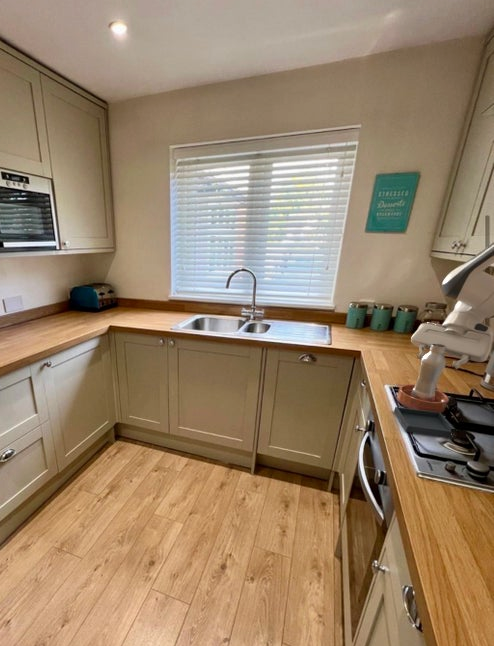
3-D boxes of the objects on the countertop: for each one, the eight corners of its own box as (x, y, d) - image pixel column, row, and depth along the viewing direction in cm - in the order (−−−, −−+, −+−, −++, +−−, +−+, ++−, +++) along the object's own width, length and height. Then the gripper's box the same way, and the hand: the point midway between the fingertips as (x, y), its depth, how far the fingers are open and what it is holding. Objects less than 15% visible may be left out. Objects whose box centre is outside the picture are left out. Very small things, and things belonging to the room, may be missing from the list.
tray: (438, 417, 100) (440, 412, 99) (455, 438, 90) (458, 432, 89) (393, 412, 103) (395, 406, 102) (405, 431, 93) (407, 425, 92)
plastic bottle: (411, 406, 106) (429, 347, 98) (406, 397, 112) (423, 341, 104) (435, 409, 104) (455, 350, 96) (428, 400, 110) (447, 343, 102)
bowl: (434, 397, 113) (438, 386, 111) (452, 416, 101) (456, 405, 99) (391, 392, 116) (394, 382, 114) (404, 411, 104) (407, 399, 102)
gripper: (421, 315, 111) (399, 348, 110) (500, 329, 96) (475, 368, 94) (424, 326, 115) (402, 357, 114) (499, 341, 100) (475, 378, 98)
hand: (436, 362), depth 104 cm, fingers open, 8 cm apart
